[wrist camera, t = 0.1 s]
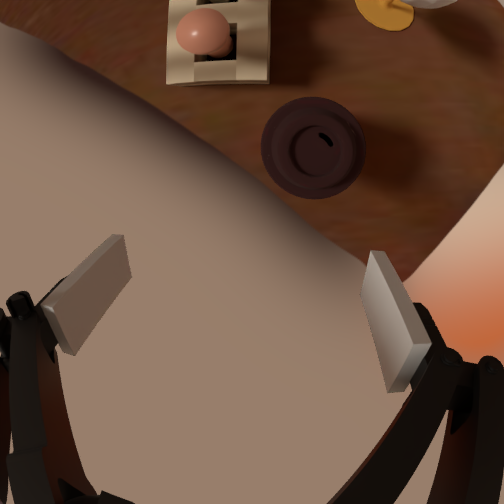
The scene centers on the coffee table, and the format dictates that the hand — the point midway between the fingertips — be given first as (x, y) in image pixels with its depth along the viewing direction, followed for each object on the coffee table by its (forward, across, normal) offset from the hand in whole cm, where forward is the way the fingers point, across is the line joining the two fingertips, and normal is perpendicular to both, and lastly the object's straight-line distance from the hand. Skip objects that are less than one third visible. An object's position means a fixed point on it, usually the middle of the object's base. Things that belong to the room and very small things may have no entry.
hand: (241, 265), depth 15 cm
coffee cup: (+28, +5, +4) cm, 29 cm away
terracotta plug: (+24, -6, +16) cm, 29 cm away
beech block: (+28, -6, +20) cm, 35 cm away
